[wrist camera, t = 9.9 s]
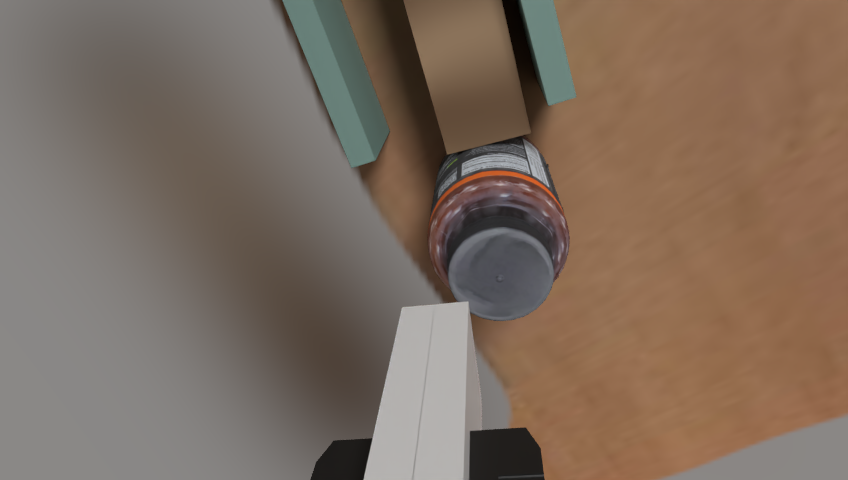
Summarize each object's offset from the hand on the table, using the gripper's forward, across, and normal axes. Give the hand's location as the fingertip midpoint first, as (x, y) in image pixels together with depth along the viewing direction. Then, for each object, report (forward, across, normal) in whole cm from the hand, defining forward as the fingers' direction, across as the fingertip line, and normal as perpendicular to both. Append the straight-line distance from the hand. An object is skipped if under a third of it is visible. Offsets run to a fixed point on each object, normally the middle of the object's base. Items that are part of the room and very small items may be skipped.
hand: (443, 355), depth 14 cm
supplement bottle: (+20, +1, -2) cm, 20 cm away
